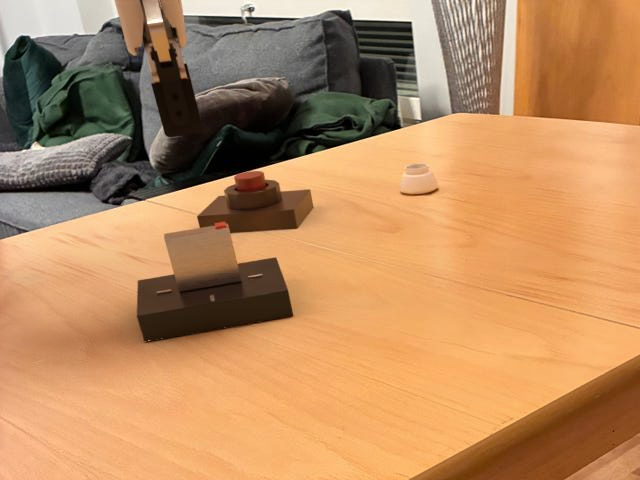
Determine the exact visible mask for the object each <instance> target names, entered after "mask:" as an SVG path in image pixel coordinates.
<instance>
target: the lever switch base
mask: <svg viewBox="0 0 640 480" xmlns="http://www.w3.org/2000/svg"><path fill="white" fill-rule="evenodd" d="M237 264H238V268H239V272H240V277H241V282H235V283H229V284H223V285H217V286H211V287H206V288H200V289H194V290H188V291H182V292H179V290H178V286H177V282H176V279H175V275H174V273H173V274H167V275H161V276H155V277H150V278H144V279H138V280H137V294H136V297H137V298H136V319H137V323H138V326H139V328H140V332H141V335H142V338H143V342H144V341H148V340H155V341H157V340H156V339H161V338H166V339H170V338H169V337H172V338H176V337H175V336H178V337H182V336H181V335H183V336H188V335H187V334H189V335H193V334H192V333H194V334H198V333H197V332H200V333H204V332H205V331H206V332H210V331H209V330H211V331H215V330H214V329H217V330H219V329H218V328H222V329H225V328H224V327H228V328H232V327H231V326H234V327H238V326H237V325H239V326H243V325H242V324H245V325H249V324H248V323H251V324H253V323H252V322H256V323H259V322H258V321H262V322H266V321H265V320H267V321H272V319H273V320H278V319H284V318H289V317H293V316H294V312H293V307H292V303H291V296H290V293H289V289H288V286H287V284H286V280H285V278H284V275H283V272H282V269H281V266H280V264H279V260H278V257H276V256H275V257H268V258H263V259H257V260H251V261H246V262H245V261H244V262H239V263H238V262H237ZM161 340H162V339H161Z"/></svg>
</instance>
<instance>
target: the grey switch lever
mask: <svg viewBox="0 0 640 480" xmlns="http://www.w3.org/2000/svg"><path fill="white" fill-rule="evenodd" d="M163 238H164V243H165V246H166V250H167V254H168V258H169V261H170V264H171V269H172V271H173V274H174V275H175V279H176V282H177V286H178V290H179V292H182V291H188V290H194V289H200V288H206V287H211V286H217V285H223V284H229V283H235V282H241V277H240V272H239V268H238V261H237V256H236V255H237V254H236V252H235V248H234V243H233V238H232V233H230V230H229V226H228V224H226V223H225V222H219V223H215V226H209V227H203V228H200V227H198V228H191V229H185V230H179V231H173V232H167V233H164V234H163Z"/></svg>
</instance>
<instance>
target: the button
mask: <svg viewBox="0 0 640 480" xmlns="http://www.w3.org/2000/svg"><path fill="white" fill-rule="evenodd" d="M233 179H234V184H236V188H237V191H239V192H245V191H254V190H259V189H262V188H265V187H267V186H266V181H265V180H266V177H265V173H264V172H263V171H260V170H251V171H244V172H241V173H238V174H236V175H234V176H233Z"/></svg>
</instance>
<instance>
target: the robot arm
mask: <svg viewBox="0 0 640 480" xmlns="http://www.w3.org/2000/svg"><path fill="white" fill-rule="evenodd" d="M114 3H115V7H116V11H117V15H118V18H119V22H120V26H121V30H122V33H123V37H124V42H125V45H126V50H127V52H128V53H129V54H131V55H132V56H134V57H135V56H138V52H139V48H142V47H143V48H144V51H145V54H146V57H147V63H148V66H149V70H150V74H151V78H152V81H153V82H151V88H152V92H153V95H154V99H155V103H156V107H157V111H158V115H159V118H160V122H161V126H162V129H163V133H164V135H165V136H166V137H167V138H175V137H181V136H188V135H194V134H200V133H202V132H203V123H202V119H201V115H200V112H199V107H198V103H197V99H196V95H195V91H194V87H193V82H192V78H191V76H190V71H189V67H188V63H184V57H183V54H182V51H181V50H183V49H184V48H185V47H186V45H187V44H188V41H187V32H186V31H187V30H186V24H185V23H186V22H185V17H184V10H183V3H182V0H114Z"/></svg>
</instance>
